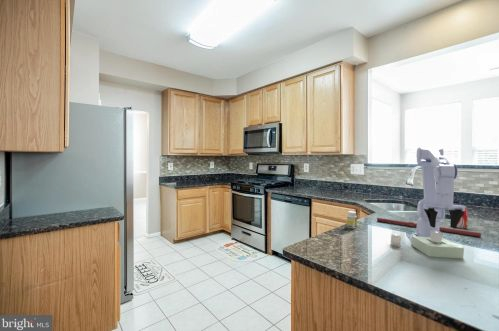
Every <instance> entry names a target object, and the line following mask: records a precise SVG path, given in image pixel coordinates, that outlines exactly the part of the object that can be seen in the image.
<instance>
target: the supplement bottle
mask: <svg viewBox="0 0 499 331" xmlns="http://www.w3.org/2000/svg"><path fill="white" fill-rule="evenodd" d="M346 218H347V219H346V220H347V221H346V227H347V228H348V229H357V228H358V227H357V224H358V221H357V220H358V216H357V212H356V211H353V210H348V212H347V216H346Z"/></svg>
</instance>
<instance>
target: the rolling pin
mask: <svg viewBox="0 0 499 331" xmlns="http://www.w3.org/2000/svg"><path fill="white" fill-rule="evenodd" d="M376 221H377V222H379V221H380V222H379V223H387V224H392V223H393V225H400V226H405V227H409V228H417V222H414V221H404V220H399V219H398V220H397V219H391V218H384V217H377V218H376ZM440 232H445V233H452V234H458V235H463V236H464V235H465V236H471V237H477V238H478V237H479V238H481V237H482V232H480V231H473V230H467V229H461V228H456V229H454V228H451V227H445V226H440Z"/></svg>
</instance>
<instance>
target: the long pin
mask: <svg viewBox="0 0 499 331" xmlns="http://www.w3.org/2000/svg"><path fill="white" fill-rule="evenodd" d="M442 238H443V231H434V230H432V231H431V236H430V242H431V243H433V244H441V243H442Z"/></svg>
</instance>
